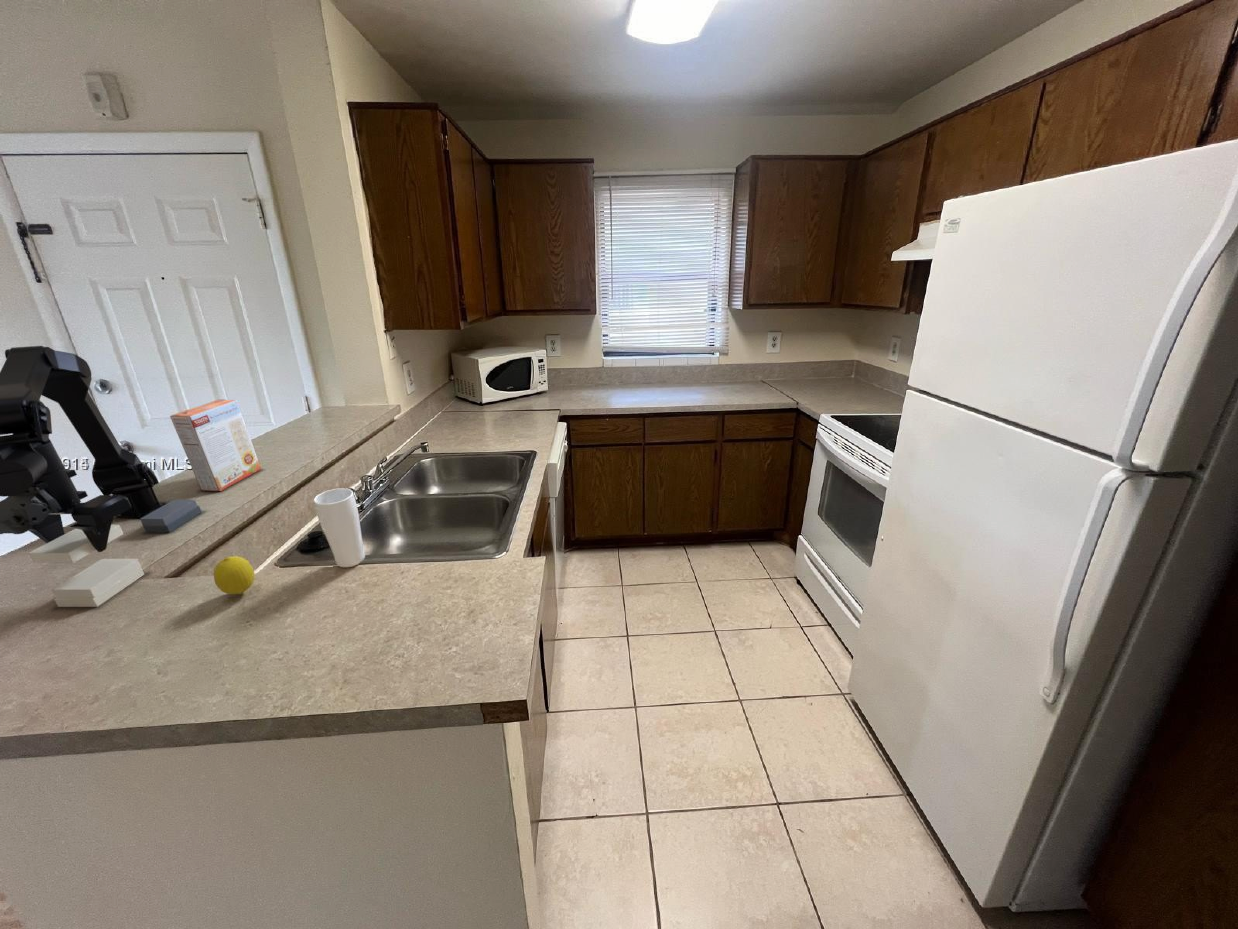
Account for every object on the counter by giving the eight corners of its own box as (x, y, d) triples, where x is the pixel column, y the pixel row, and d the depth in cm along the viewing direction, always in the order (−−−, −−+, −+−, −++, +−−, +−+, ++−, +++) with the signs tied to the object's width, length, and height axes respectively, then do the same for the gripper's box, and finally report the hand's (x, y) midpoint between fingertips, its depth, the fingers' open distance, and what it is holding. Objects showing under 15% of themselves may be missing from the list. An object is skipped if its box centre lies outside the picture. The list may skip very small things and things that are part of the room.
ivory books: (109, 574, 91) (101, 558, 90) (145, 574, 91) (137, 558, 90) (58, 607, 83) (48, 590, 81) (97, 607, 83) (88, 590, 82)
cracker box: (243, 468, 136) (218, 398, 127) (262, 469, 135) (239, 399, 126) (198, 491, 123) (167, 414, 114) (220, 492, 122) (190, 415, 114)
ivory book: (88, 533, 88) (83, 524, 87) (124, 533, 88) (119, 524, 87) (33, 563, 79) (27, 553, 78) (73, 563, 79) (67, 553, 79)
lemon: (219, 607, 83) (203, 570, 80) (226, 589, 88) (211, 553, 84) (257, 597, 86) (243, 561, 82) (262, 580, 90) (248, 545, 87)
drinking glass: (344, 575, 92) (325, 508, 85) (325, 564, 95) (305, 498, 89) (376, 557, 97) (360, 493, 91) (357, 547, 100) (341, 484, 94)
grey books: (180, 512, 113) (174, 499, 112) (202, 512, 113) (196, 499, 112) (145, 532, 105) (139, 518, 103) (169, 532, 105) (163, 518, 103)
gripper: (-86, 494, 70) (-28, 579, 76) (42, 494, 70) (90, 579, 76) (2, 463, 80) (48, 540, 86) (114, 463, 80) (151, 541, 87)
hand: (82, 550), depth 84 cm, fingers closed on ivory book, 6 cm apart
